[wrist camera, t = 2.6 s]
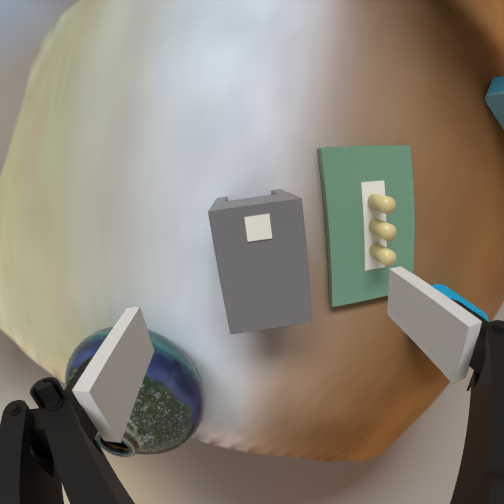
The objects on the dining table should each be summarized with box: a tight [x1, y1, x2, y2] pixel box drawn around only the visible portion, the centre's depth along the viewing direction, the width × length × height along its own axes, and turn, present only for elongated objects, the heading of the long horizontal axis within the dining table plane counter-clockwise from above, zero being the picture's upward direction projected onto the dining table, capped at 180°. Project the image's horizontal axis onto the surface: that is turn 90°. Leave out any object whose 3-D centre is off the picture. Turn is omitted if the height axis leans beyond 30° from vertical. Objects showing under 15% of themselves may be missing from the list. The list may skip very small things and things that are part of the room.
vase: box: [65, 327, 205, 457], centre depth 25 cm, size 15×15×13 cm
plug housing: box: [208, 189, 311, 334], centre depth 24 cm, size 9×6×9 cm, turn 8°
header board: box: [317, 145, 415, 307], centre depth 26 cm, size 16×10×4 cm, turn 8°
